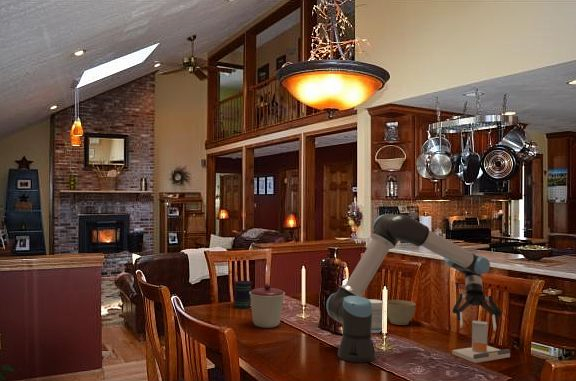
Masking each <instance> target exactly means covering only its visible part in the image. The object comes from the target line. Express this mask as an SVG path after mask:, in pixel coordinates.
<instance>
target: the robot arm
mask: <svg viewBox="0 0 576 381" xmlns="http://www.w3.org/2000/svg"><path fill="white" fill-rule="evenodd" d="M372 224H373V225H372V228H373V229H372V233H371V239H372V240H371V241H370V243H369V245H368V246H367V248H366V250H365V251H364V253H363V255H362V256H361V258H360V260H358V263H357V265H356V266H355V268H354V269H353V271H352V273H351V275H350V277H349V278H348V280H347V281H346V283H345V284H344V285H341V286H339V288H338V290H337V291H336V292H334V293H332V294H330V295H329V297H328V298H327V300H326V304H325V305H326V306H325V307H326V311H327V315H328V316H330V318H332V320H334V321H335V322H338V323H340V324H341V325H342V337H341V339H340V343H339V347H338V350H337V357H338V358H339V359H341V360H343V361H345V362H351V363H370V362H372V361H375V360H376V350H375V347H374V346H375V345H374V343H373V339H372V333H371V330H372V304H371V302H370V300H369V299H368V298H367V297H363V295H364V293H365V291H366V290H367V288H368V287H369V285H370V283H371V281H372V280H373V277H374V276H375V274H376V273H377V271H378V269H379V268H380V266H381V264H382V262H383V261H384V259H385V257H386V256H387V254H388V253H389V251H390V250H393V249H395V247H396V246H397V243H398V242H403V243H407V244H410V245H414V246H415V247H423V248H425V249H427V250H428V251H431V252H433V253H434V254H437V255H438V256H441V257H442V258H443V259H444V262H445V263H446V264H447V265H448V266H449V267H451V268H453V269H454V270H456V271H458V272H459V273H461V274H462V275H464V283H465V285H464V286H465V295H464V294H463V293H460V294H459V296H458V299H457V301H456V303H455V304H454V305H453V308H452V313H453V314H456V319H457V321H459V326H460V329H463V312H464V311H465V310H466V309H467V308H468V307H469V306H474V307H475V306H476V307H480V306H481V308H484V309H485V310H486V311H487V313H489V314H490V315H491V316H492V318H491V319H492V328H493V332H496V330H497V324H498V322H499V317H501V316H502V311H501V310H500V308H499V307H498V305H497V304H496V303H495V301H494V300H493V296H491V295H488V296H486V295H485V294H484V288H483V278H482V275H485V274H487V273H488V272H489V270H490V267H491V263H490V261H489V259H488V258H487V257H484V256H479V255H477V254H474V253H473V252H471V251H469V250H468V249H465V248H463V247H462V246H459V245H458V244H455V243H454V242H452V241H450V240H448V239H446V238H445V237H443V236H441V235H439V234H437V233H435V232H433V231H431V230H430V228H429V227H428V226H427V225H426V224H423V223H422V222H419V221H418V220H416V219H414V218H413V217H411V216H408V215H405V214H392V213H385V214H382V215H379V216H378V217H377V218H376V219H375V220H374V222H373V223H372ZM463 300H466V301H465V302H464V303H463V304H462V305H461V303H462V301H463ZM486 301H487V302H486ZM460 305H461V306H460Z"/></svg>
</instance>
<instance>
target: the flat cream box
mask: <svg viewBox="0 0 576 381" xmlns="http://www.w3.org/2000/svg"><path fill="white" fill-rule="evenodd" d="M451 353H452V355H453V356H457V357H459V358H462V359H464V360H467V361H469V362H471V363H474V364H477V363H482V362H483V363H485V362H489V361H495V360H500V359H506V358H510V357H511V348H506V349H505V348H504V349H499V348H496V347H493V346H490V345H488V344H487V352H486V353H483V352H477V351H472V346H471V347H465V348H458V349H452V351H451Z"/></svg>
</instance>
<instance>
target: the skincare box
mask: <svg viewBox="0 0 576 381" xmlns="http://www.w3.org/2000/svg"><path fill="white" fill-rule="evenodd" d="M471 323H472V325H471V347H472V351H477V352H483V353H486V352H487V345H488V331H489V329H488V327H489V326H488V324H489V322H488V321H481V320H472V322H471Z"/></svg>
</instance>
